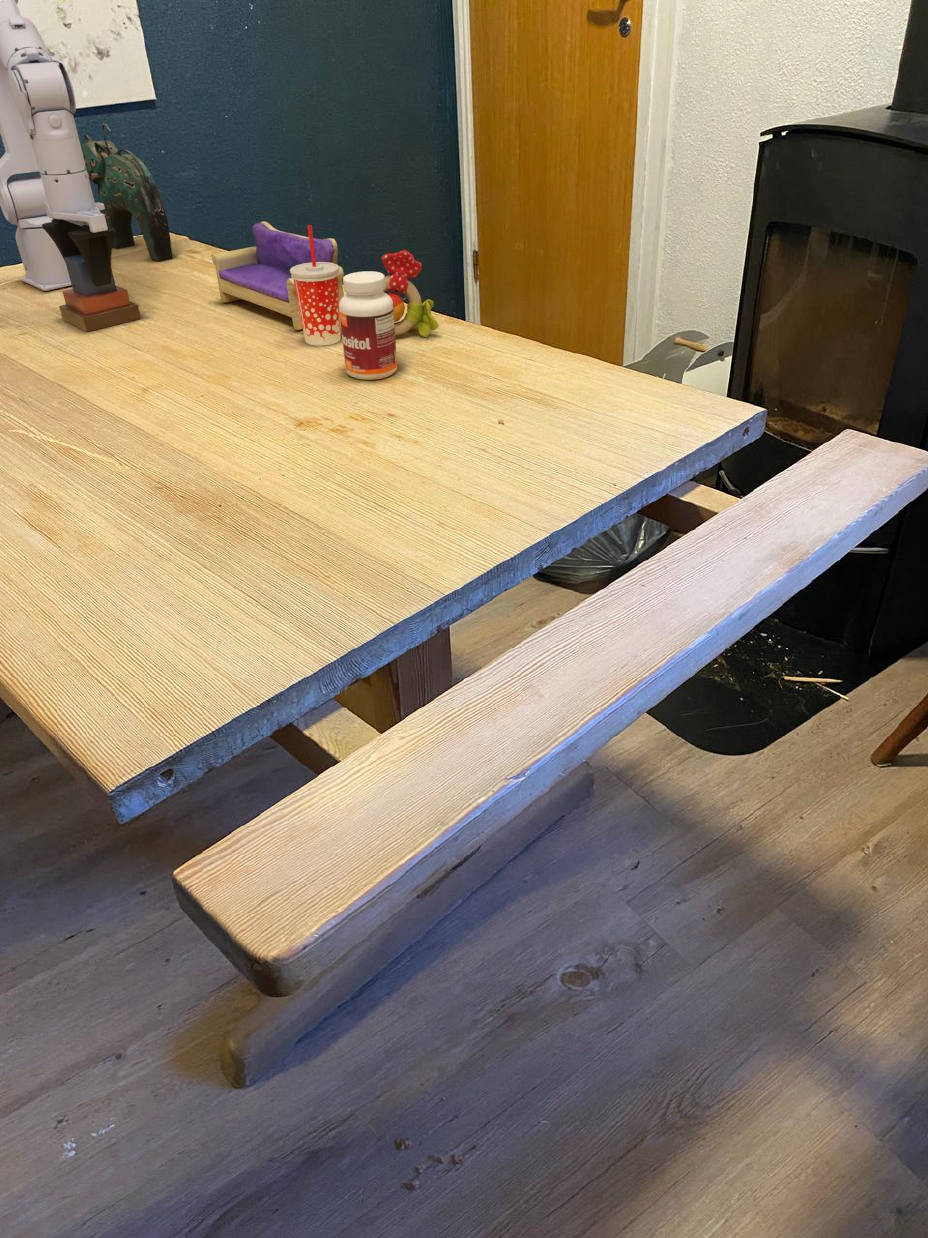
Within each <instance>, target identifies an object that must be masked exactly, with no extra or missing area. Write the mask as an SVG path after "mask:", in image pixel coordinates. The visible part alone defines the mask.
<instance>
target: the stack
mask: <svg viewBox="0 0 928 1238" xmlns="http://www.w3.org/2000/svg"><path fill="white" fill-rule="evenodd" d="M116 289H117V290H113V291H109V292H105V293H100V294H96V295H92V296H84V295H82V294H80V293H78V292H75V291H73V288H70V289H66V290H62V291H61V293H62V295H63V299H64V303H65V304H61V305H58V307H59V311H60V315H61V319H62V320H63V321H64V322H67V323H68V324H70V325H72V326H74V327H75V328H78V329H80V330H82V331H84V332H86V333H89V332H94V331H98V330H102V329H104V328H109V327H110V328H111V327H113V326H117V325H122V324H124V323H129V322H133V321H136V320H137V321H138V320H141V319H142V317H141V313H140V312H141V311H140V308H139V304H138V303H135V302H133V301H131V300H130V297H129V293H128V290H127V288H126V289H125V288H124V287H121V286H119V285H116Z"/></svg>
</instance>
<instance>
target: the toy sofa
mask: <svg viewBox="0 0 928 1238" xmlns="http://www.w3.org/2000/svg"><path fill="white" fill-rule="evenodd" d="M252 234H253V235H252V236H253V239H254V243H255V246H251V247H245V248H239V249H233V250H229V251H223V252H218V253H213V254H211V260H212V263H213V265H214V267H215V273H216V278H217V283H218V290H219V296H220V299H221V303H231V302H234V301H235V302H236V301H239V300H243V301H247V302H249V303H252V304H255V305H257V306H260V307H263V308H266V309H269V310H271V311H274V312H277V313H279V314H282V315H284V316H287V317H289V318H291V319H292V320H291V321H292V325H293V329H295V330H296V331H299V330H303V326H302V321H301V316H300V311H299V305H298V300H297V295H296V290H295V285H294V280H293V278H292V277H291V273H290V269H291V268H292V267H294V266H296V265H300V264H304V263H312V258H311V250H310V242H309V236H305V235H300V234H296V233H291V232H286V231H281V230H278V229H277V228H275V227H273V226H272V225H271V224H270V223H269V222H267V221H260V222H256V223H254V225H253V226H252ZM313 243H314V251H315V260H316V262H328V263H334V264H337V265H338V254H339V253H338V252H339V251H338V244H337V241H336V239H335V238H333V237H332V238H331V237H330V238H323V239H321V238H314V237H313ZM338 266H339V275H338V289H339V303H340V300H341V299H342V298H343V297H344V296H345V293H344V292H345V291H344V285H343V277H344V276H345V272H344V269H343V267H341V266H340V265H338Z"/></svg>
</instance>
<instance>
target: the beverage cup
mask: <svg viewBox="0 0 928 1238" xmlns="http://www.w3.org/2000/svg"><path fill="white" fill-rule="evenodd" d="M307 230H308V231H307V233H308V237H309V242H310V250H311V258H312V263H304V264H300V265H296V266H294V267H292V268H291V269H290V273H291V277H292V278H293V280H294V285H295V290H296V295H297V300H298V305H299V311H300V316H301V321H302V326H303V329H302V331H303V336H304V341H305V343H306V344H307V345H310V346H321V347H322V346H330V345H334V344H336V343H338V342H340V341H341V339H342V331H341V320H340V310H339V289H338V275H339V266H340V265H338V263H337V264H334V263H328V262H316V260H315V251H314V243H313V238H314V235H313V225H312V224H307Z"/></svg>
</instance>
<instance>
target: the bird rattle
mask: <svg viewBox="0 0 928 1238" xmlns="http://www.w3.org/2000/svg"><path fill="white" fill-rule="evenodd" d="M381 262H382V263H383V266H384V268H385V269H386V272H387V274H388V275H386V276H384V277H385V284H386V286H385V289H384V290H383V292H384V293H386V294H388V295H389V296H390V297H391V299H392V301H393V310H394V325H395V336H398V335H403V334H405V333H406V332H408V331H409V332H411V331H412V330H414V329H415V328H417V327H418V328H417V329H418V333H419V335H420V336H421V337H423V338H428V337H429V335H430V334H431V331H436V330H437V329H438V327H439V323H438V321H437V320H436V319H435V317H434V316H433V314H432V309H433V308H434V305H435V304H434V301H433V300H432V299H426V300H424V302H422V298H421V294H420V293H419V291H418V289H417V287H416V286H415V284H413V282H412V281H410V280H409V279H410V278H412V279H413V278H416V277H417V276H419V274H420V272H421V270H422V269H423V268H422V267H423V264H422V262H420V261H418V260H416V259H415V258H414V255H413V254H412V253H410V252H409V251H408V250H406V249H403V250H400V251H398V252H395V253H385V254H383V255H382V256H381ZM394 291H395V292H394ZM399 293H400V294H404V295H405V297H403V298H402V297H401V295H399ZM405 300H408V303H407V305H405V302H404V301H405ZM405 309H406V313H405ZM403 316H404V318H403ZM402 318H403V319H402Z"/></svg>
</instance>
